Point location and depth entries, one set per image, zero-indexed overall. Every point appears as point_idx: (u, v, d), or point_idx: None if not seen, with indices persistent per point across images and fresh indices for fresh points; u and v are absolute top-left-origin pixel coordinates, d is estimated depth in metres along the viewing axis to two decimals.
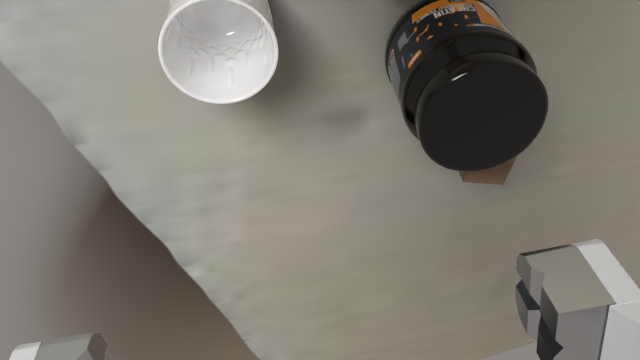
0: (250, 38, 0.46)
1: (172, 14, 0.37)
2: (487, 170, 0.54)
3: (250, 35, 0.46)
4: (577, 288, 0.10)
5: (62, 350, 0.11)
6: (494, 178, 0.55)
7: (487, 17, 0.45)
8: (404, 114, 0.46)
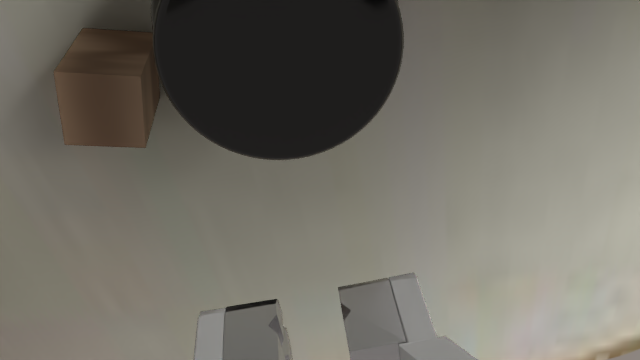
0: None
1: None
2: (90, 108, 0.29)
3: None
4: (376, 325, 0.10)
5: (251, 315, 0.11)
6: (75, 126, 0.30)
7: None
8: None
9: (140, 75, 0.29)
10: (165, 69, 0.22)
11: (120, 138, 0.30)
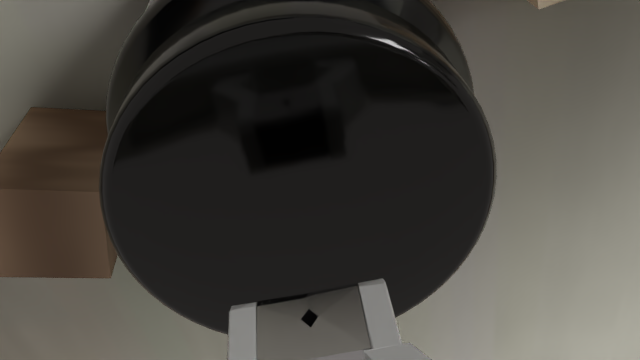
0: None
1: None
2: (32, 232, 0.21)
3: None
4: (342, 331, 0.10)
5: (282, 309, 0.11)
6: (11, 254, 0.21)
7: None
8: None
9: None
10: (120, 235, 0.14)
11: (75, 267, 0.22)
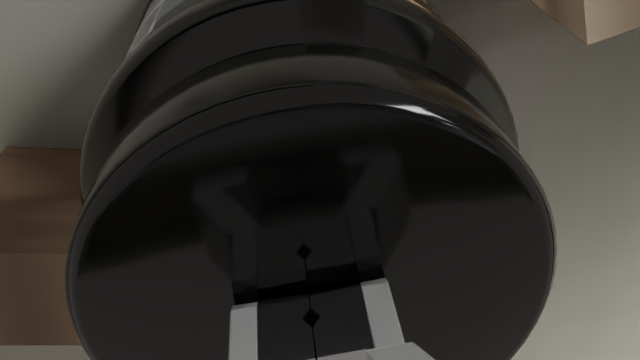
0: None
1: None
2: (2, 298, 0.18)
3: None
4: (345, 331, 0.10)
5: (284, 309, 0.11)
6: None
7: None
8: (224, 7, 0.11)
9: None
10: (93, 342, 0.11)
11: (53, 334, 0.19)
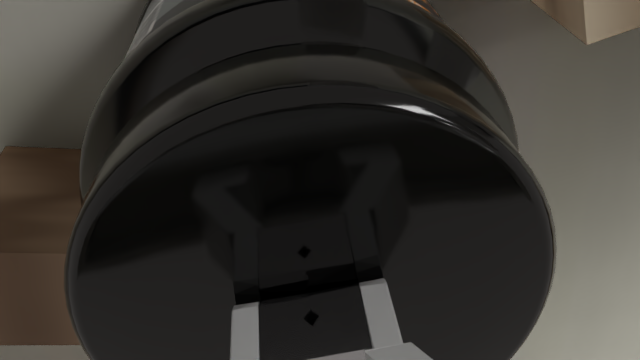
0: None
1: None
2: (2, 298, 0.18)
3: None
4: (343, 331, 0.10)
5: (285, 309, 0.11)
6: None
7: None
8: (223, 7, 0.11)
9: None
10: (92, 341, 0.11)
11: (53, 334, 0.19)
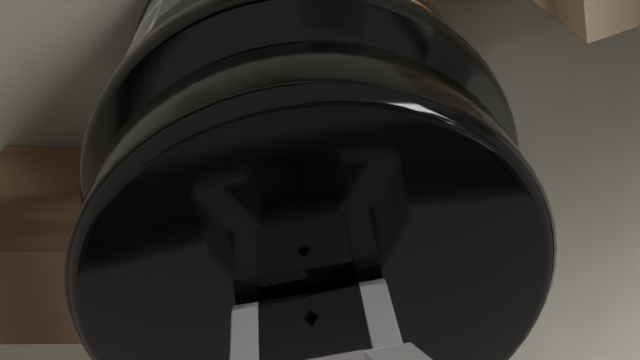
0: None
1: None
2: (1, 296, 0.18)
3: None
4: (343, 331, 0.10)
5: (285, 309, 0.11)
6: None
7: None
8: (224, 5, 0.11)
9: None
10: (92, 340, 0.11)
11: (53, 333, 0.19)
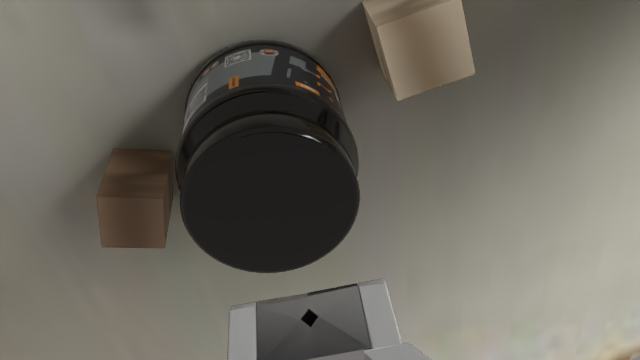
0: None
1: None
2: (123, 221, 0.38)
3: None
4: (342, 331, 0.10)
5: (282, 309, 0.11)
6: (110, 233, 0.38)
7: None
8: (236, 96, 0.31)
9: (162, 197, 0.37)
10: (188, 218, 0.31)
11: (145, 241, 0.39)
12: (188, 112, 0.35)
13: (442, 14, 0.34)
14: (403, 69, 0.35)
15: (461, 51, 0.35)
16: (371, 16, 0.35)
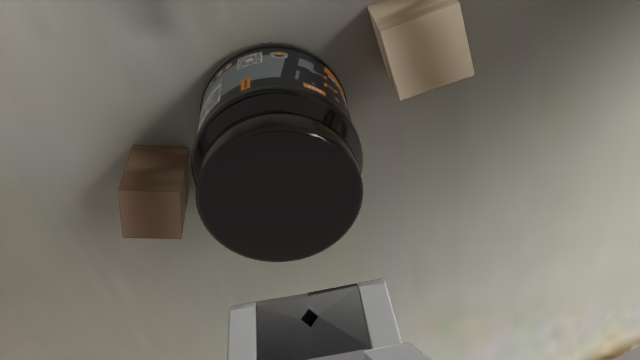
0: None
1: None
2: (142, 213, 0.40)
3: None
4: (342, 331, 0.10)
5: (283, 309, 0.11)
6: (130, 225, 0.41)
7: None
8: (247, 96, 0.33)
9: (179, 191, 0.40)
10: (203, 210, 0.33)
11: (163, 232, 0.41)
12: (203, 111, 0.37)
13: (442, 19, 0.36)
14: (405, 70, 0.38)
15: (461, 53, 0.37)
16: (375, 20, 0.38)
